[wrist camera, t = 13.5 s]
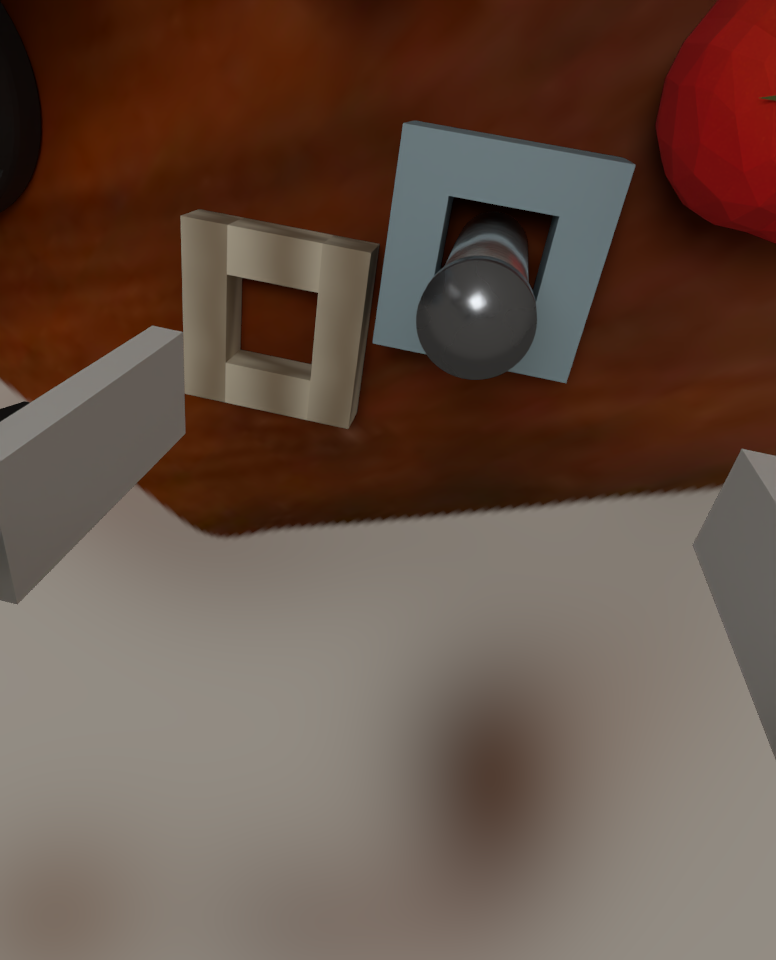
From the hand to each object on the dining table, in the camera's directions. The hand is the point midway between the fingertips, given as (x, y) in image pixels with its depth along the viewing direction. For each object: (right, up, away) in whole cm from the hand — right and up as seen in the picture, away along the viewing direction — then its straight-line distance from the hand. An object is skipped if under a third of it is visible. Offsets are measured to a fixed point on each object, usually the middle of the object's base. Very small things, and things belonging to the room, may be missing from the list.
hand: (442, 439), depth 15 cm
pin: (+5, +12, +21) cm, 25 cm away
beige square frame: (-8, +9, +25) cm, 28 cm away
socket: (+5, +12, +21) cm, 25 cm away
